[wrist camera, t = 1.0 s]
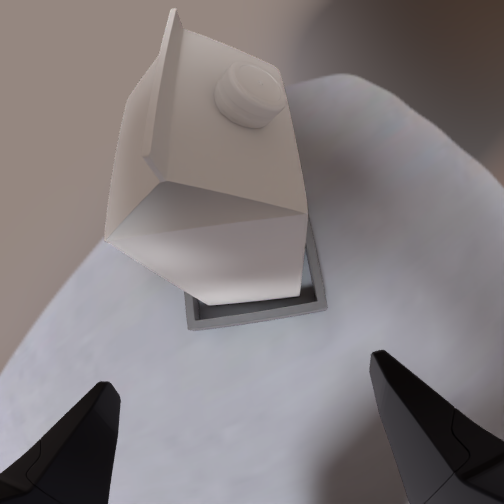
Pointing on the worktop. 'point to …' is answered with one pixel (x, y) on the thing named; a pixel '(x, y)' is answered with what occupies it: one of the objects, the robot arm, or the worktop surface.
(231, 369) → the worktop surface
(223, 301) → the milk carton
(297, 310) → the drip tray
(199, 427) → the worktop surface
